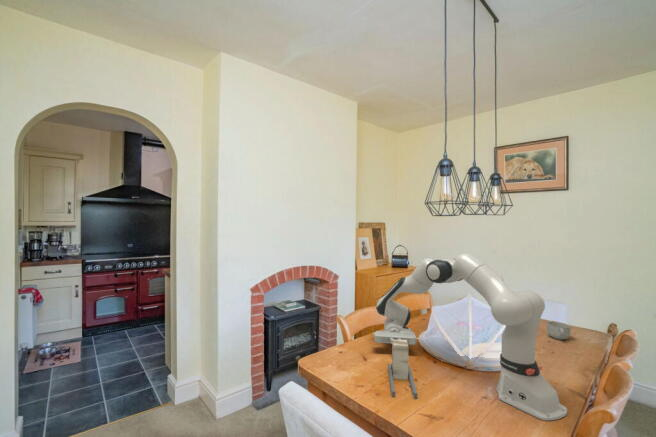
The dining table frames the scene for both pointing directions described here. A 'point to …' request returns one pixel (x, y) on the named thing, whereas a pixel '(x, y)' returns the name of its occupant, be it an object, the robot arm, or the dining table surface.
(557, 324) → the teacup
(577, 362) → the dining table surface
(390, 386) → the chute
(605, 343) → the dining table surface
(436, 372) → the dining table surface
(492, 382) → the dining table surface
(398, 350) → the cream block
